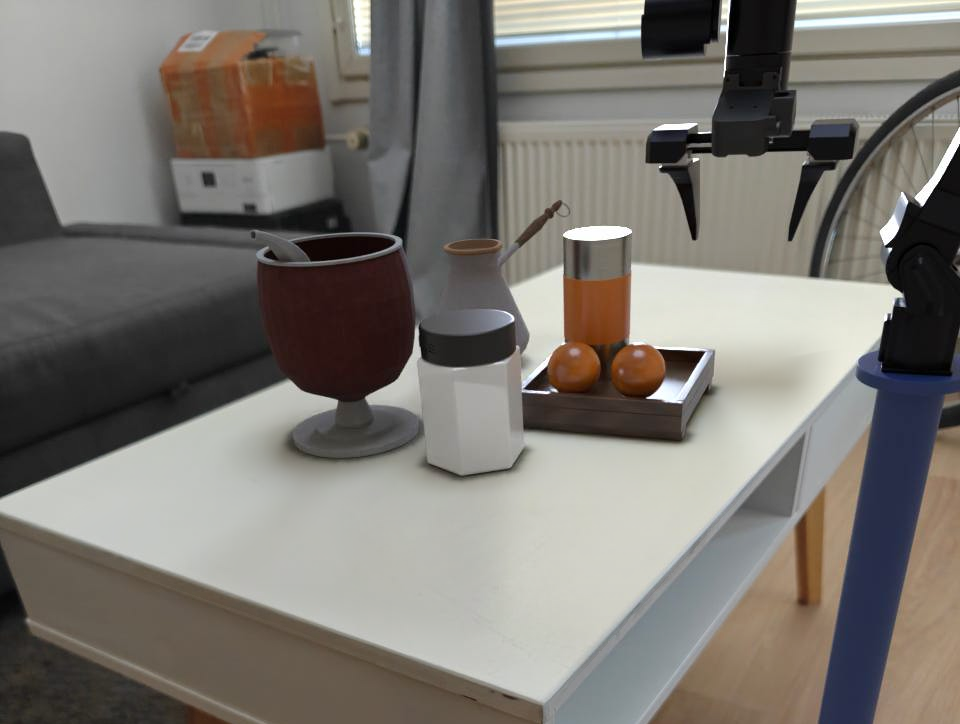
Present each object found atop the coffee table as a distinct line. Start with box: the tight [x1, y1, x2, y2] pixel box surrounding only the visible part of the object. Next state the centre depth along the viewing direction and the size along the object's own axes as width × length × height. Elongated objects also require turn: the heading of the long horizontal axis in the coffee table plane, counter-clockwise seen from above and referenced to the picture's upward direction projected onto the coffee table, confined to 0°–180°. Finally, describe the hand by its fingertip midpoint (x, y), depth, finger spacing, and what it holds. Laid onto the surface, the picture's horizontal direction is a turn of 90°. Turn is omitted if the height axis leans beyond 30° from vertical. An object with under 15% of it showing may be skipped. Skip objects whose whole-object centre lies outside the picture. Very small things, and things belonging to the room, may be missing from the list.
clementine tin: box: [562, 225, 633, 380], centre depth 90 cm, size 6×6×13 cm
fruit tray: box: [521, 341, 716, 441], centre depth 89 cm, size 16×16×8 cm
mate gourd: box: [249, 229, 420, 459], centre depth 84 cm, size 16×14×20 cm
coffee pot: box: [436, 199, 571, 356], centre depth 105 cm, size 21×12×15 cm, turn 137°
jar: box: [416, 309, 525, 477], centre depth 80 cm, size 9×8×12 cm
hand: (741, 240), depth 91 cm, fingers open, 9 cm apart
